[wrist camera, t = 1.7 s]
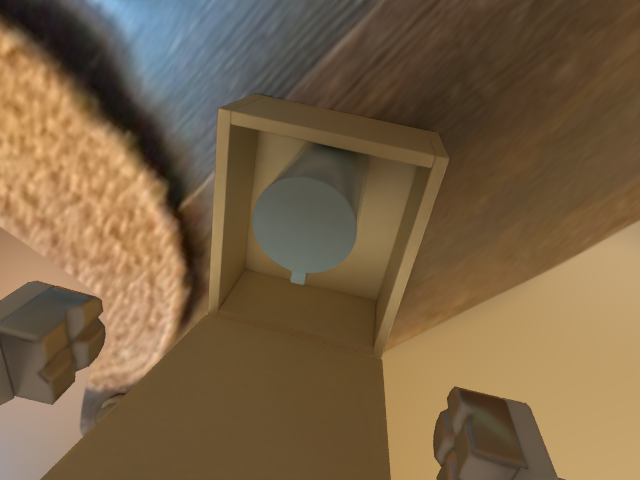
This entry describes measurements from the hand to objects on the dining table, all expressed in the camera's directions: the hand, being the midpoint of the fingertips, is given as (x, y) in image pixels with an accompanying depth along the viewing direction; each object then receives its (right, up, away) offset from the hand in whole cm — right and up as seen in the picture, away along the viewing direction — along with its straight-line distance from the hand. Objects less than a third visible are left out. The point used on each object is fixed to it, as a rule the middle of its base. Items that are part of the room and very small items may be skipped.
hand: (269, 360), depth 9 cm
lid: (-2, -6, +13) cm, 14 cm away
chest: (+2, +5, +23) cm, 24 cm away
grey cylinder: (+2, +8, +21) cm, 22 cm away
